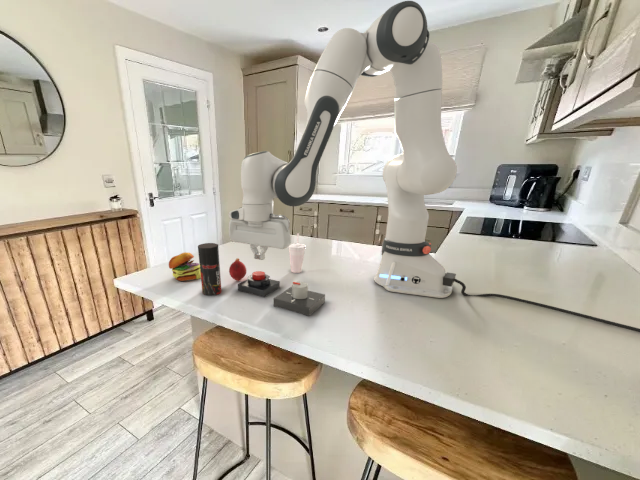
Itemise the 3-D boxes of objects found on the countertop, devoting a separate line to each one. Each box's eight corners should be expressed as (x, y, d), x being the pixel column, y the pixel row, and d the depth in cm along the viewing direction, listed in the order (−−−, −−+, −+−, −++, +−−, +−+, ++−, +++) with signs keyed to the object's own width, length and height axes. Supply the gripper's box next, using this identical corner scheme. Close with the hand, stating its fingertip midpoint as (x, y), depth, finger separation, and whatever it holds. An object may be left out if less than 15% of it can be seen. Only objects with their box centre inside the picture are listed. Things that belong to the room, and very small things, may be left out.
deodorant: (218, 296, 93) (214, 248, 87) (199, 295, 94) (194, 248, 88) (223, 288, 98) (220, 243, 93) (205, 288, 99) (201, 242, 93)
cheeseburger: (193, 283, 102) (183, 255, 99) (168, 287, 107) (158, 260, 104) (208, 273, 111) (200, 247, 108) (185, 277, 116) (176, 251, 113)
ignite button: (267, 277, 97) (267, 272, 96) (260, 281, 94) (260, 276, 93) (257, 275, 99) (257, 270, 98) (249, 279, 96) (249, 274, 95)
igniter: (279, 287, 98) (279, 276, 97) (264, 297, 92) (264, 285, 90) (254, 281, 104) (254, 270, 102) (237, 290, 97) (237, 278, 95)
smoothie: (307, 270, 113) (309, 232, 108) (300, 275, 108) (301, 236, 103) (292, 267, 116) (293, 230, 111) (284, 272, 111) (284, 234, 106)
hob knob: (310, 295, 86) (311, 282, 85) (303, 300, 83) (303, 287, 81) (296, 291, 89) (296, 279, 87) (288, 297, 85) (289, 284, 84)
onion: (244, 284, 101) (243, 261, 98) (227, 283, 102) (226, 260, 99) (248, 278, 107) (247, 256, 103) (232, 277, 108) (231, 255, 105)
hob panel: (324, 302, 88) (325, 293, 86) (309, 316, 80) (309, 307, 79) (291, 294, 93) (291, 286, 92) (273, 306, 86) (273, 297, 85)
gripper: (295, 213, 85) (294, 261, 90) (237, 209, 96) (239, 252, 102) (283, 217, 80) (283, 267, 86) (224, 212, 92) (227, 257, 97)
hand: (259, 259), depth 94 cm, fingers closed
